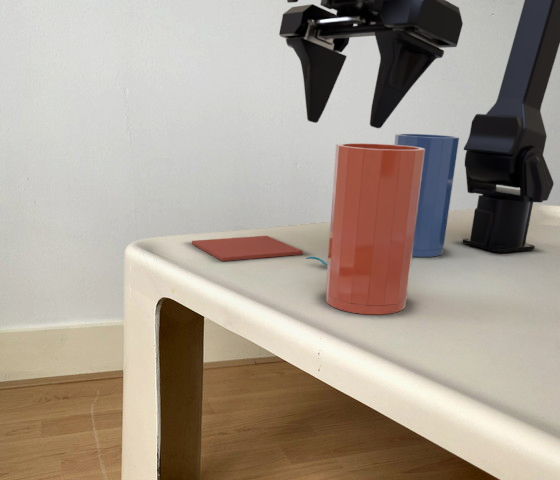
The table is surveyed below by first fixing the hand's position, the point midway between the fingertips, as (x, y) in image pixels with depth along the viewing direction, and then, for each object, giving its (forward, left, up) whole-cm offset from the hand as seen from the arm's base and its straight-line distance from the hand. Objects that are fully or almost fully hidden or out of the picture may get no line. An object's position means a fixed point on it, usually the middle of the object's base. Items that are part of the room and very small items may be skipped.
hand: (341, 124), depth 60 cm
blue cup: (-15, -5, -14) cm, 21 cm away
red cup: (+3, +10, -14) cm, 18 cm away
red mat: (+4, -12, -14) cm, 19 cm away
